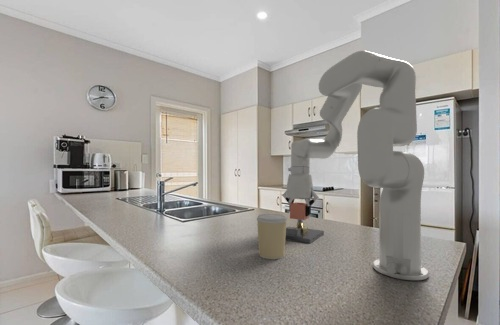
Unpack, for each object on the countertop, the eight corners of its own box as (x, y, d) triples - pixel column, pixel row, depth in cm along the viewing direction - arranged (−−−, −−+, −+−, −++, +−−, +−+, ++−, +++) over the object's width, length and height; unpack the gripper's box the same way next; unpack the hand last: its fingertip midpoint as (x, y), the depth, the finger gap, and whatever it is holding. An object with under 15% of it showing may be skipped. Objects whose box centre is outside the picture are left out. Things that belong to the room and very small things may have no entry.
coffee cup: (286, 250, 84) (286, 214, 84) (287, 261, 75) (287, 219, 75) (257, 249, 85) (258, 213, 85) (255, 259, 76) (255, 218, 76)
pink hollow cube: (303, 220, 102) (304, 204, 102) (289, 218, 105) (290, 203, 105) (309, 217, 107) (309, 203, 107) (295, 216, 110) (295, 202, 110)
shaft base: (310, 243, 93) (310, 212, 93) (277, 238, 100) (278, 209, 100) (323, 234, 106) (323, 207, 106) (294, 230, 113) (294, 205, 114)
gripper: (277, 170, 108) (276, 213, 107) (317, 171, 98) (317, 218, 98) (285, 170, 114) (284, 211, 114) (323, 171, 105) (323, 215, 104)
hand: (299, 214), depth 106 cm, fingers closed on pink hollow cube, 6 cm apart
